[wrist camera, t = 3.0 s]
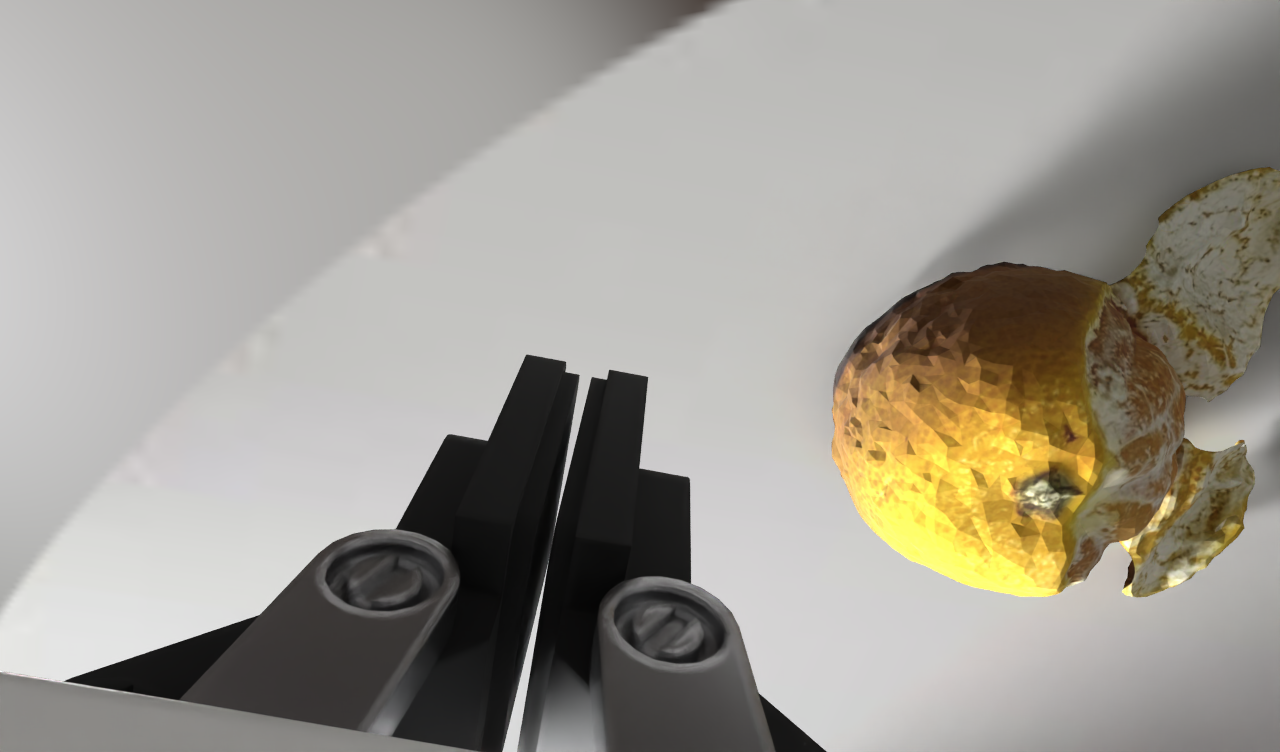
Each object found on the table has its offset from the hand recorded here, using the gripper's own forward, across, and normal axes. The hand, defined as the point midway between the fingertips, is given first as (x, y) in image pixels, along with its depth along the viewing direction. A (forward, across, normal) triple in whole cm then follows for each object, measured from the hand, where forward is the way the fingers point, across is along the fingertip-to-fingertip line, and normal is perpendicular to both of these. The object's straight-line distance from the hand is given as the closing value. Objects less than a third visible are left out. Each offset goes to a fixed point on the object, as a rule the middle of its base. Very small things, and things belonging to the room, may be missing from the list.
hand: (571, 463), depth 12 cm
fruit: (+5, -9, 0) cm, 11 cm away
